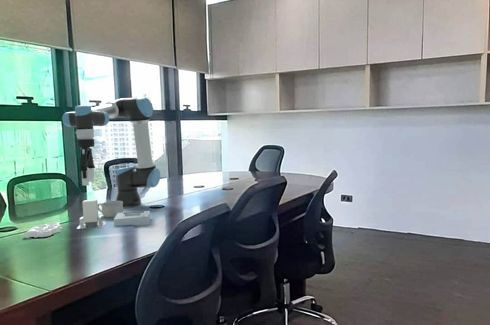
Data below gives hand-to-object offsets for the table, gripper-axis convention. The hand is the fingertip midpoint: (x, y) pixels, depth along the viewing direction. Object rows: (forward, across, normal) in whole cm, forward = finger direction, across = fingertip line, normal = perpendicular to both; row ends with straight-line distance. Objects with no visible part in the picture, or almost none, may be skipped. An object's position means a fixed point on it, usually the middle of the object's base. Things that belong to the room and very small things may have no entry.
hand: (88, 183), depth 188 cm
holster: (+21, 0, 0) cm, 21 cm away
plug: (+20, 0, 0) cm, 20 cm away
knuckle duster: (+22, +6, -19) cm, 29 cm away
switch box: (+21, -2, +19) cm, 28 cm away
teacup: (+21, -19, +6) cm, 29 cm away
